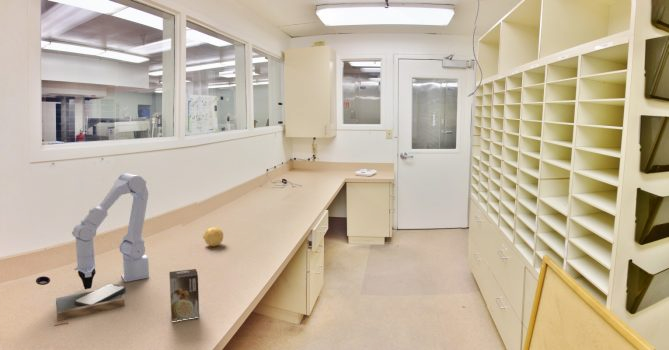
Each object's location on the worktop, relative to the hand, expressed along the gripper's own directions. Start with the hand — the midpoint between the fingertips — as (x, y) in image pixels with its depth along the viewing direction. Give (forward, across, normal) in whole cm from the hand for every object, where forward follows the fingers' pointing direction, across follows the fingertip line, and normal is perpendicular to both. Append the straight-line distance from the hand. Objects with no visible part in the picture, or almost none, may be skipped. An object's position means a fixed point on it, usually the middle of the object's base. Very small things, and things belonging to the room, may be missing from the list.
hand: (87, 288), depth 155 cm
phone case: (+1, +8, +4) cm, 9 cm away
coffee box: (+2, +38, +26) cm, 46 cm away
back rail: (+1, +18, 0) cm, 18 cm away
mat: (+2, +9, 0) cm, 9 cm away
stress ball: (+2, -28, +59) cm, 65 cm away
